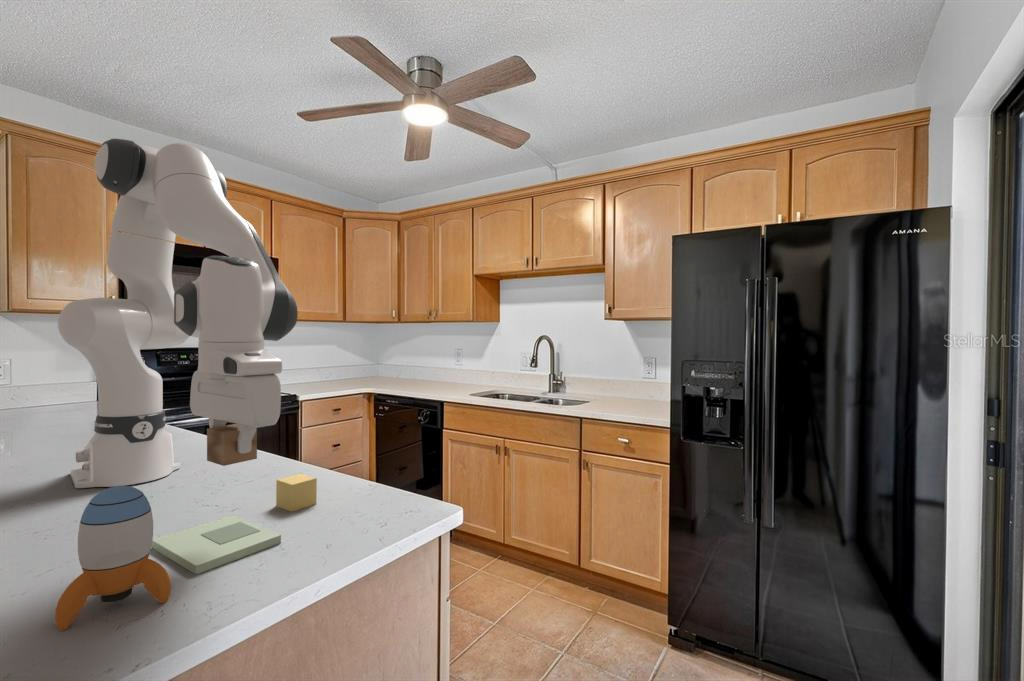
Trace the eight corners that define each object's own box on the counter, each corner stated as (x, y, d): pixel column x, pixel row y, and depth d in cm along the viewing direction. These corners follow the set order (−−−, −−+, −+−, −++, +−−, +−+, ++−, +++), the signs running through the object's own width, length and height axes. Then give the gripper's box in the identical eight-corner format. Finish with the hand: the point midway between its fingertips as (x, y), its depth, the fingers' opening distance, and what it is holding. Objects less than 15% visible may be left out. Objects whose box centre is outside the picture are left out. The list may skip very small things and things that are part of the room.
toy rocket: (98, 593, 62) (132, 474, 64) (184, 604, 63) (215, 487, 65) (28, 630, 52) (71, 487, 54) (132, 643, 53) (170, 502, 55)
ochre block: (276, 506, 90) (276, 479, 90) (300, 498, 95) (300, 473, 95) (292, 512, 88) (292, 484, 88) (316, 504, 92) (316, 478, 92)
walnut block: (207, 460, 74) (206, 428, 74) (240, 454, 79) (240, 423, 79) (223, 465, 72) (223, 432, 72) (256, 458, 76) (256, 426, 76)
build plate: (151, 547, 72) (151, 539, 72) (233, 522, 83) (233, 514, 83) (196, 574, 65) (196, 564, 65) (280, 542, 75) (280, 534, 75)
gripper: (178, 358, 78) (178, 444, 78) (246, 364, 67) (246, 464, 67) (219, 357, 83) (219, 437, 83) (289, 362, 72) (288, 454, 72)
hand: (232, 449), depth 75 cm, fingers closed on walnut block, 5 cm apart
